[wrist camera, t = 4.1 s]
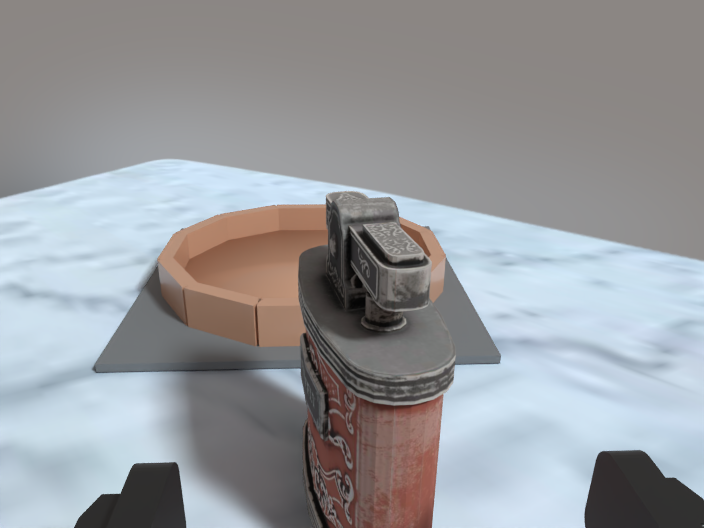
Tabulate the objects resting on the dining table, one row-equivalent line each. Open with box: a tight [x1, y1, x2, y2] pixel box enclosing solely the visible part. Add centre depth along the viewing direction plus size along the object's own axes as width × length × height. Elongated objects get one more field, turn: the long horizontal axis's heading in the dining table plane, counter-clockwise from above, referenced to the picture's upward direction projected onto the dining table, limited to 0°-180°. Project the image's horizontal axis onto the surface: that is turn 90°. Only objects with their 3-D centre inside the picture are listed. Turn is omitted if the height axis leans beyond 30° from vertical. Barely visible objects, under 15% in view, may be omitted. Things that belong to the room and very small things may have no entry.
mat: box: [95, 226, 501, 372], centre depth 34 cm, size 18×18×1 cm
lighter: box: [298, 191, 456, 528], centre depth 17 cm, size 8×3×10 cm, turn 15°
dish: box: [157, 205, 446, 347], centre depth 34 cm, size 16×16×2 cm
